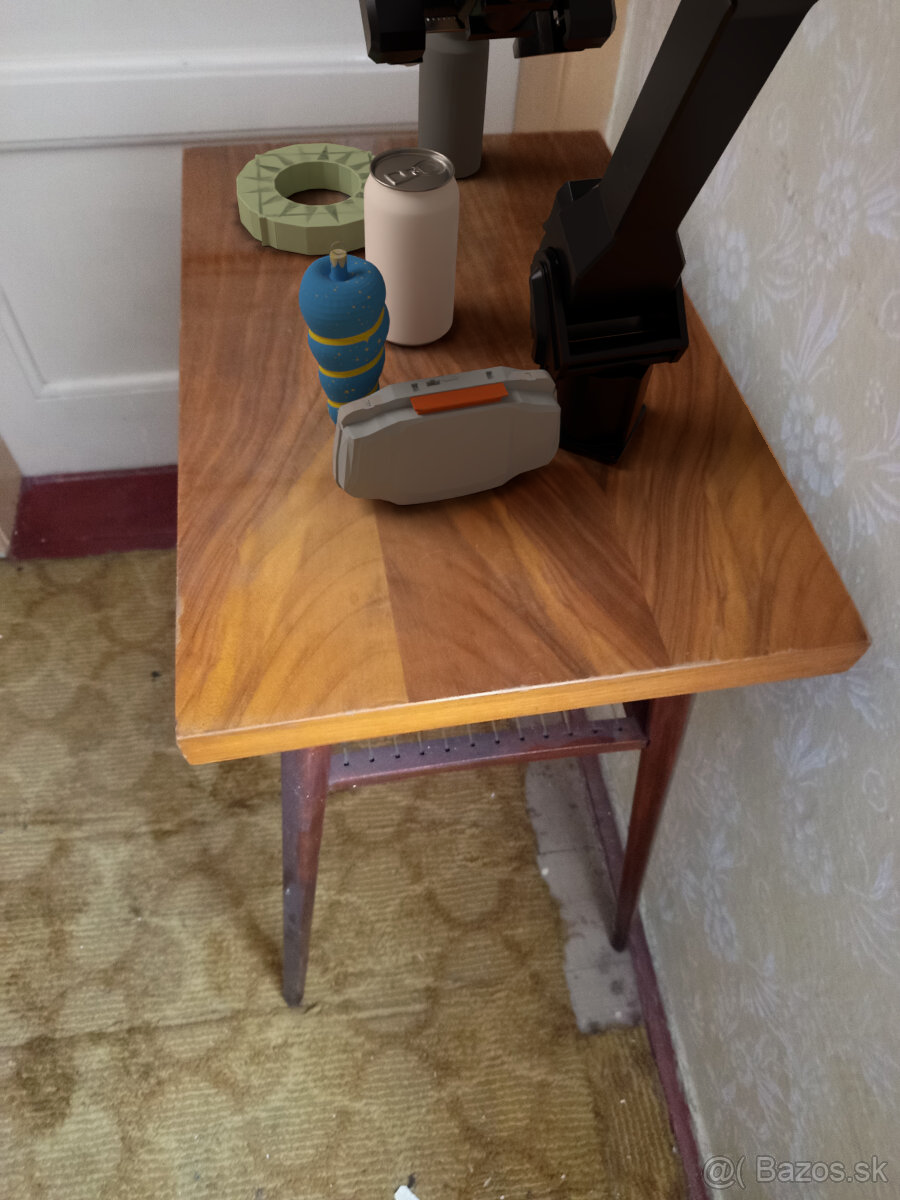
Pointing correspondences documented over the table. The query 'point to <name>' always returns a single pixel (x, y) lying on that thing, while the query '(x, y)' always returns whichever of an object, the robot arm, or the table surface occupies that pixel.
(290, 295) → the table surface
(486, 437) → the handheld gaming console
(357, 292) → the ornament
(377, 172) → the can
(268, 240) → the holder
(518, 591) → the table surface
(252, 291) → the table surface
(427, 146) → the bottle
